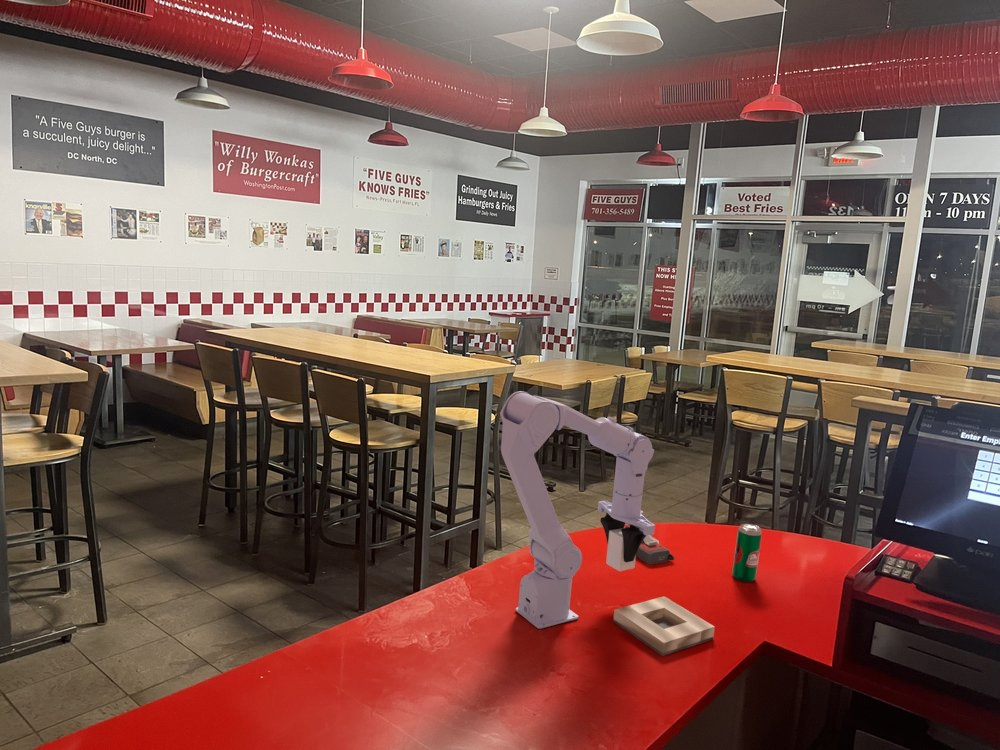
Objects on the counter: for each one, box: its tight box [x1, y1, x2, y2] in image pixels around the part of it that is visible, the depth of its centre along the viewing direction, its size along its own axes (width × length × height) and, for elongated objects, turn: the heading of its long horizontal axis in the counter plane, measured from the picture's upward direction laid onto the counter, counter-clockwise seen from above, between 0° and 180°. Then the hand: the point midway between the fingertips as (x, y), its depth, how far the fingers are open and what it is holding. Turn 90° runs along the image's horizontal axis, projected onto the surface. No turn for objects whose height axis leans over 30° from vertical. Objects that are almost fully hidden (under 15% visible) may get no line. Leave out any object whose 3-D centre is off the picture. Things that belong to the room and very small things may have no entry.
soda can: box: [731, 523, 763, 583], centre depth 160 cm, size 5×5×12 cm
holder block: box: [613, 596, 715, 657], centre depth 135 cm, size 13×13×2 cm
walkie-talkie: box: [624, 525, 675, 565], centre depth 174 cm, size 9×4×20 cm
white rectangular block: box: [605, 528, 637, 572], centre depth 144 cm, size 4×4×7 cm
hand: (621, 556), depth 144 cm, fingers closed on white rectangular block, 4 cm apart
